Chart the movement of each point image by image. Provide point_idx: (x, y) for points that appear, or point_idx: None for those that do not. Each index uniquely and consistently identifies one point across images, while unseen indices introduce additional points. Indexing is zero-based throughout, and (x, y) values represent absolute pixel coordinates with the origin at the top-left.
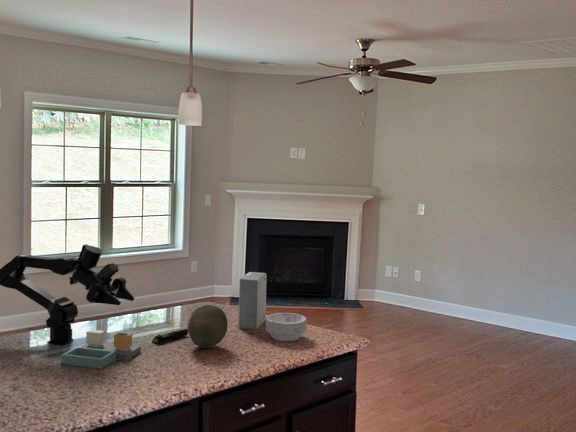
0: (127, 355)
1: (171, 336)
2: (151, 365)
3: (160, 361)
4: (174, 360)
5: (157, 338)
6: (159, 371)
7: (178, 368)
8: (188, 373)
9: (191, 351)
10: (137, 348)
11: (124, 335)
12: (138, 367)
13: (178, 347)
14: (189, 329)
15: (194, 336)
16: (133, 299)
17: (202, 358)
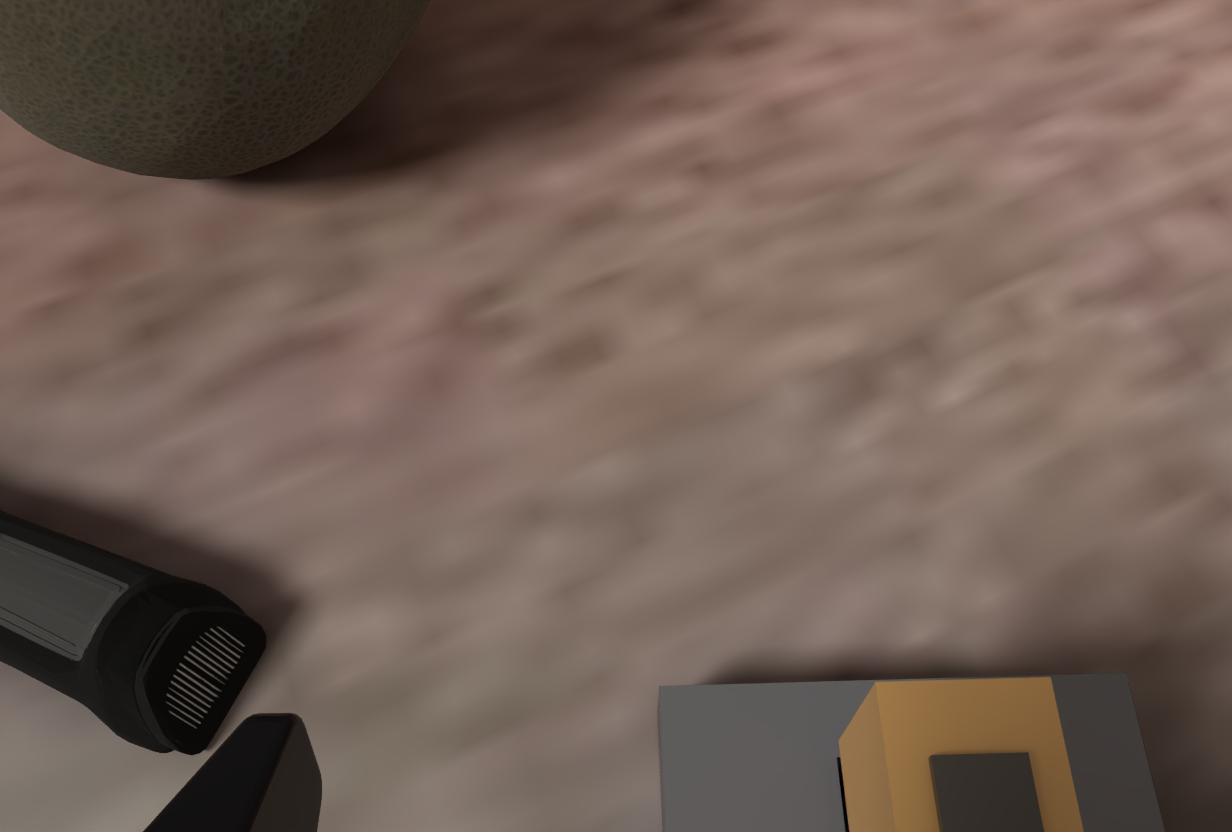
0: (1102, 677)
1: (9, 516)
2: (1061, 361)
3: (888, 333)
4: (785, 225)
5: (194, 636)
6: (1174, 220)
7: (990, 111)
8: (1062, 4)
9: (417, 189)
10: (775, 684)
11: (1037, 769)
12: (1205, 456)
13: (308, 359)
14: (351, 13)
15: (413, 10)
16: (305, 743)
17: (605, 37)
